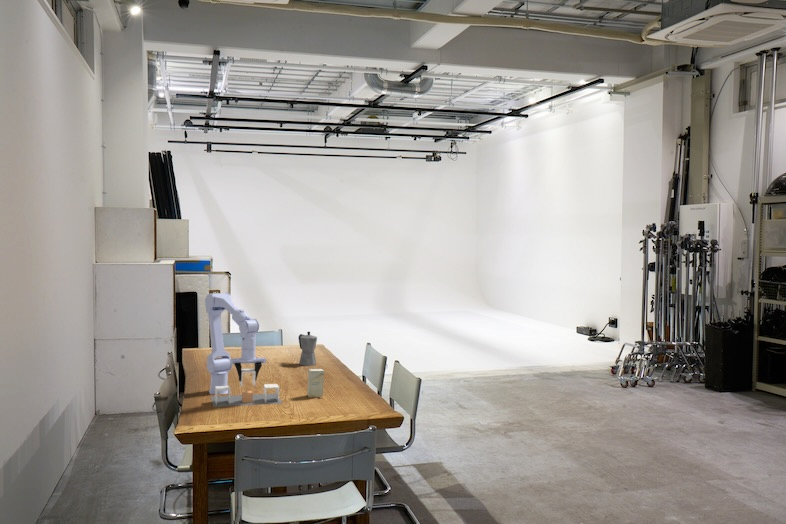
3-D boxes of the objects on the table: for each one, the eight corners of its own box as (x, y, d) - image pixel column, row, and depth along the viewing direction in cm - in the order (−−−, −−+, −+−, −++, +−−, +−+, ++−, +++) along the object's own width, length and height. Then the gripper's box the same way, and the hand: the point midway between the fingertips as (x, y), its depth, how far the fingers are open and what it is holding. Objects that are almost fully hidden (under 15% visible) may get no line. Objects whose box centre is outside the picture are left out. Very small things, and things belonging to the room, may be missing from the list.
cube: (241, 400, 278) (241, 391, 278) (251, 399, 280) (251, 390, 280) (242, 402, 275) (243, 393, 274) (252, 402, 276) (252, 392, 276)
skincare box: (309, 398, 288) (310, 371, 287) (307, 396, 292) (307, 369, 291) (323, 397, 290) (324, 370, 289) (320, 395, 294) (321, 368, 294)
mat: (210, 397, 283) (210, 396, 283) (276, 394, 292) (276, 393, 292) (213, 408, 267) (213, 406, 267) (282, 404, 276) (282, 403, 276)
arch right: (263, 398, 282) (263, 384, 282) (276, 398, 284) (276, 383, 284) (265, 402, 277) (265, 387, 276) (278, 401, 279) (279, 387, 278)
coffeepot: (322, 365, 360) (323, 332, 359) (308, 367, 354) (309, 333, 353) (305, 360, 371) (306, 328, 370) (291, 362, 365) (292, 330, 364)
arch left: (214, 401, 276) (215, 386, 276) (228, 400, 278) (229, 385, 277) (216, 404, 270) (216, 389, 270) (230, 404, 272) (230, 389, 272)
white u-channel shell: (239, 383, 279) (240, 368, 278) (253, 383, 281) (253, 368, 280) (241, 386, 273) (241, 371, 273) (255, 386, 275) (255, 371, 275)
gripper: (231, 350, 270) (230, 383, 271) (267, 349, 275) (266, 382, 275) (230, 347, 277) (229, 379, 277) (264, 346, 281) (264, 378, 282)
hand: (247, 380), depth 277 cm, fingers closed on white u-channel shell, 6 cm apart
